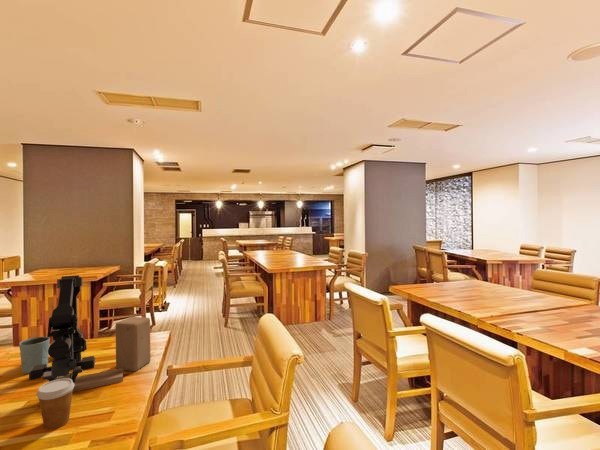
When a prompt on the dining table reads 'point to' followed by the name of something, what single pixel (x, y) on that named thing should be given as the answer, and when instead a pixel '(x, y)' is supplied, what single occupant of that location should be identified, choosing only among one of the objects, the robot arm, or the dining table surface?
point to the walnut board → (98, 379)
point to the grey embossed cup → (34, 352)
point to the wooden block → (132, 343)
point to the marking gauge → (65, 376)
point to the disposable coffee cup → (55, 402)
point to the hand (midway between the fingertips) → (64, 390)
